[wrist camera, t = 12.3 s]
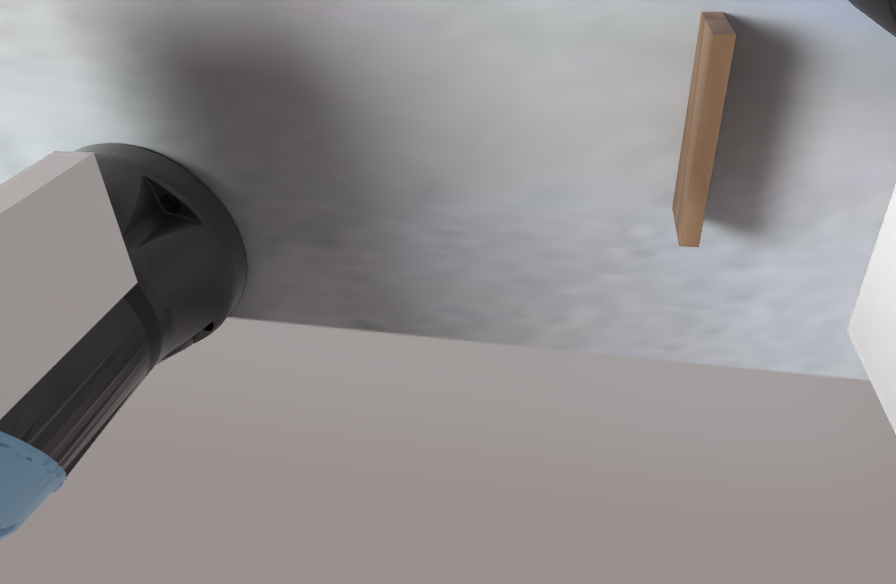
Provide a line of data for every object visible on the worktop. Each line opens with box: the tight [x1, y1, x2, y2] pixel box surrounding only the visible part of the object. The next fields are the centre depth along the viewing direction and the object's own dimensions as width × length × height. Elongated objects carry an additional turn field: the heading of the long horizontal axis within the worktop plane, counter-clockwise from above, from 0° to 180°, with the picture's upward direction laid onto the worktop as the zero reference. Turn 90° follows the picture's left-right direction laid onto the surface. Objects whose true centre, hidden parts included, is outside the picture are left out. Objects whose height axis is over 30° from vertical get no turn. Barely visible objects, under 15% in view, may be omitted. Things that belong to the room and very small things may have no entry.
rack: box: [672, 12, 736, 247], centre depth 35 cm, size 17×11×4 cm, turn 92°
